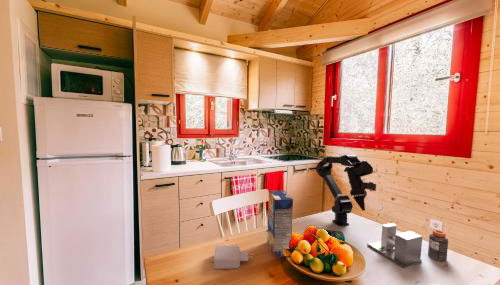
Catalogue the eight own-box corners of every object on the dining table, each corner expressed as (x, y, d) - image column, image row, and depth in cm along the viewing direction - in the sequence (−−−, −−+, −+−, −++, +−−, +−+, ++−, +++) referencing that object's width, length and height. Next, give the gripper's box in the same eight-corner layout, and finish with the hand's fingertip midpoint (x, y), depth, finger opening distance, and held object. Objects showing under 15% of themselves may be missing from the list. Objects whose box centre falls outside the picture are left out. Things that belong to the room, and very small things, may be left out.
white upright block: (376, 248, 94) (378, 225, 93) (390, 244, 97) (392, 223, 96) (387, 254, 89) (389, 231, 88) (401, 250, 92) (403, 228, 91)
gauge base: (367, 245, 98) (368, 222, 97) (384, 241, 102) (386, 219, 101) (403, 267, 83) (405, 240, 82) (421, 261, 87) (424, 235, 86)
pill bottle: (443, 255, 92) (445, 229, 91) (449, 263, 87) (451, 236, 86) (425, 251, 94) (428, 226, 94) (430, 259, 89) (432, 232, 88)
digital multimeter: (311, 232, 111) (311, 226, 111) (342, 236, 107) (343, 230, 107) (311, 239, 104) (312, 233, 104) (345, 244, 100) (345, 238, 100)
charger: (254, 269, 81) (213, 270, 80) (251, 254, 90) (215, 255, 89) (254, 257, 81) (213, 258, 79) (252, 243, 90) (215, 244, 89)
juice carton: (267, 241, 100) (268, 190, 98) (283, 240, 101) (284, 190, 99) (273, 257, 88) (275, 199, 86) (291, 256, 89) (293, 199, 87)
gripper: (371, 173, 99) (382, 209, 94) (373, 177, 115) (382, 207, 109) (346, 178, 104) (355, 212, 99) (350, 181, 120) (358, 210, 114)
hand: (363, 210), depth 105 cm, fingers closed
